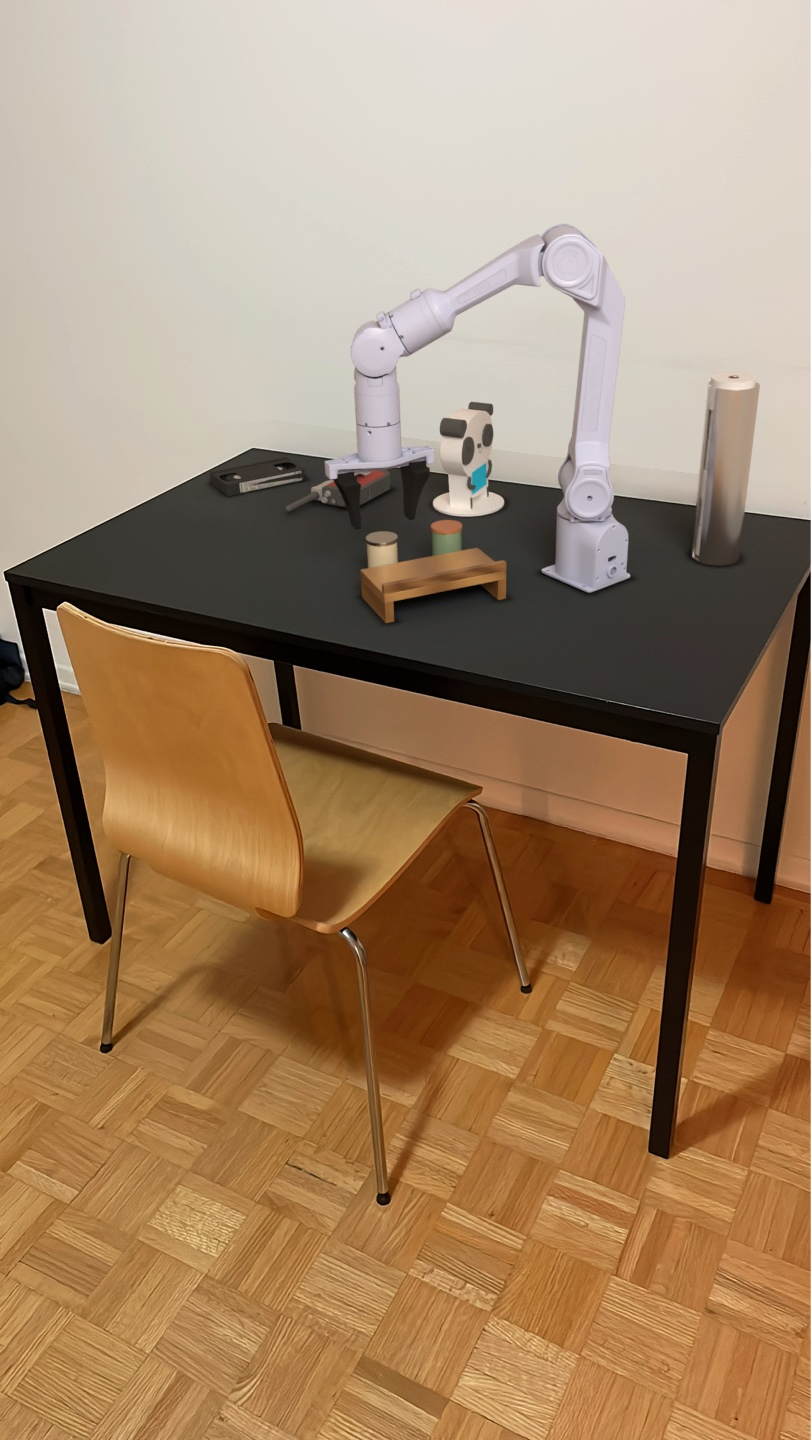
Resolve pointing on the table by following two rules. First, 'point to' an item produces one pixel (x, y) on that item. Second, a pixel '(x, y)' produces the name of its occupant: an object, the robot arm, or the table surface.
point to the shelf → (430, 578)
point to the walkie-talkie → (330, 494)
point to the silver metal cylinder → (724, 467)
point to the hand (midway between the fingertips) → (382, 522)
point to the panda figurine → (468, 462)
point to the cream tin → (381, 548)
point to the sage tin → (446, 537)
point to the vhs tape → (257, 476)
